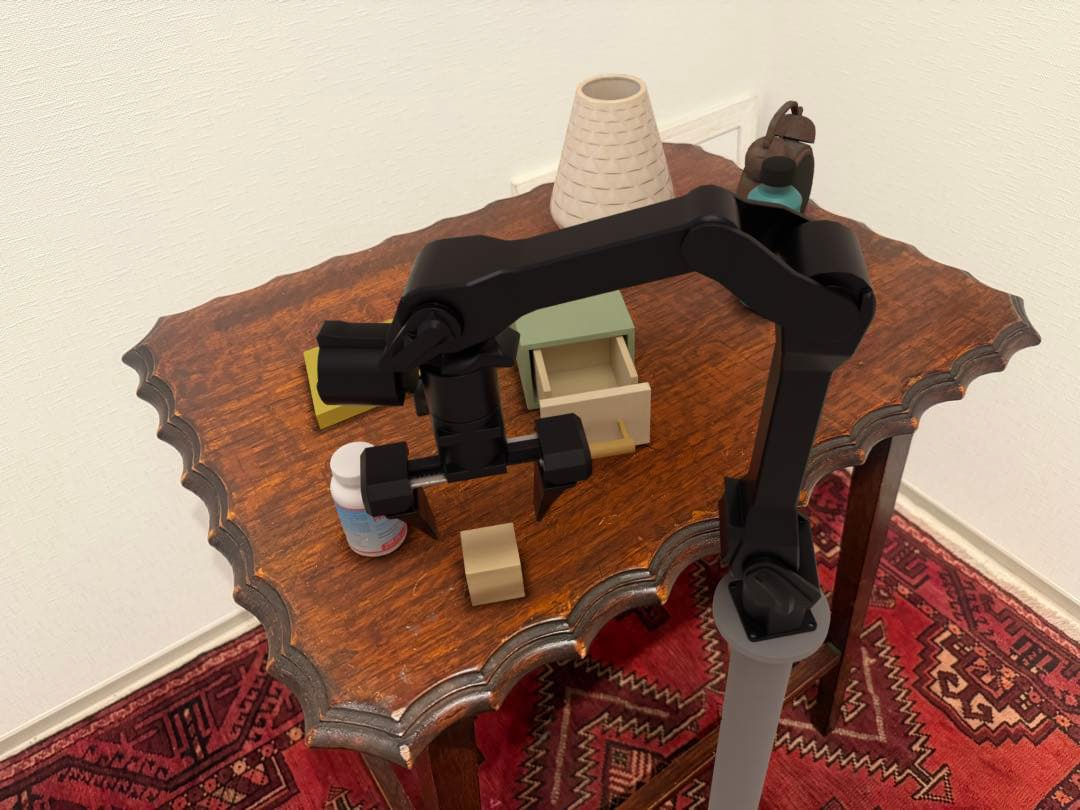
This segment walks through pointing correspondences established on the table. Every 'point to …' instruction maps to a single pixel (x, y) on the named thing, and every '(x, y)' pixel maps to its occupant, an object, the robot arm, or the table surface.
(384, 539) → the pill bottle
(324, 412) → the flat olive board
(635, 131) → the vase
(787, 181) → the beverage bottle
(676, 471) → the table surface
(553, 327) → the cabinet
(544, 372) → the drawer
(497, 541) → the block
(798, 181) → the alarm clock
